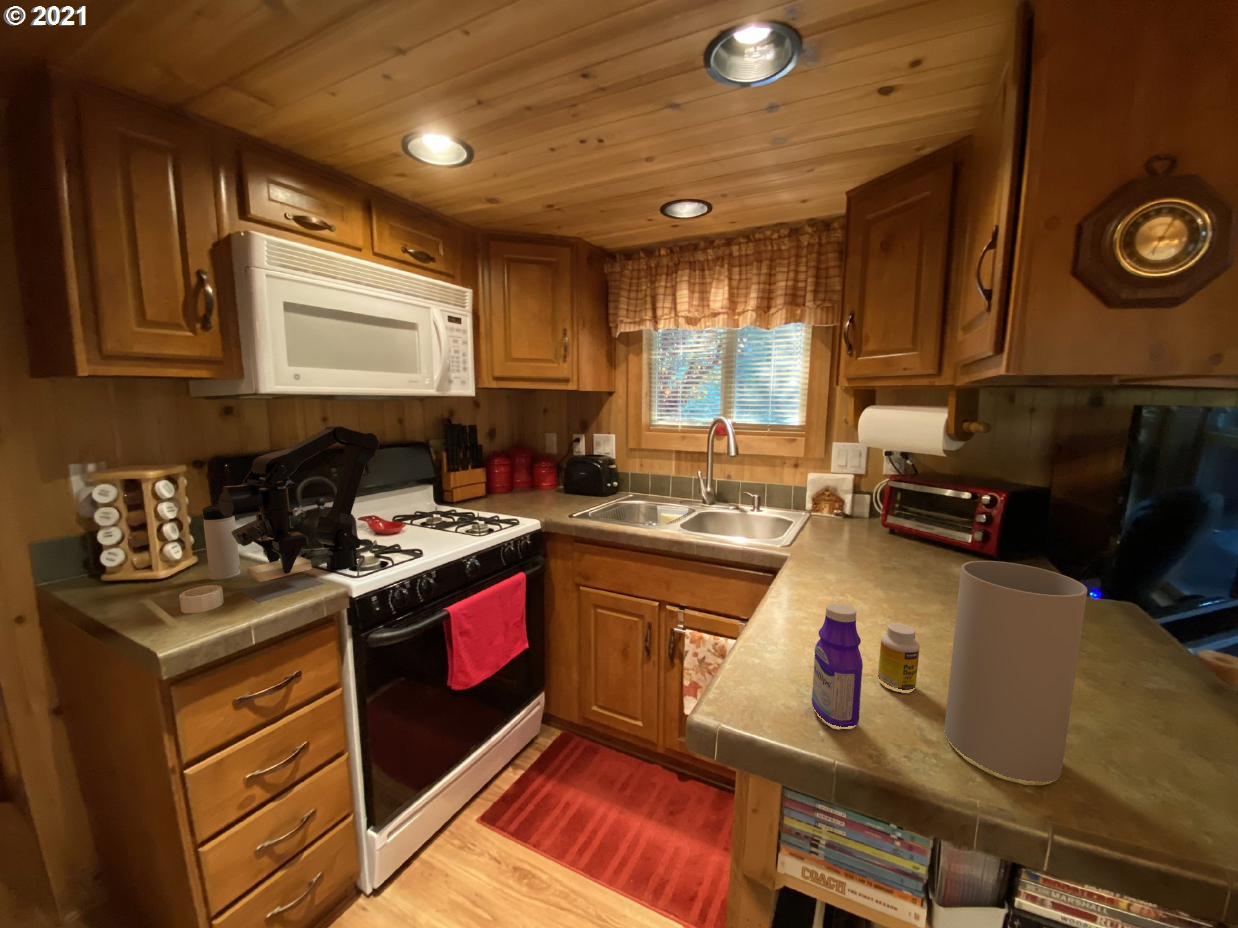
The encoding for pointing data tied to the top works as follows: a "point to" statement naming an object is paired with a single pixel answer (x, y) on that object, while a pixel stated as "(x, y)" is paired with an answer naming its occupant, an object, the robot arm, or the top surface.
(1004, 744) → the cylinder vase
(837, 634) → the bottle
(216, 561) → the travel mug
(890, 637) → the supplement bottle
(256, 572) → the birch board
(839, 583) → the top surface
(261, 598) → the rubber mat
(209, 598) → the ceramic bowl
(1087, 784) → the top surface
